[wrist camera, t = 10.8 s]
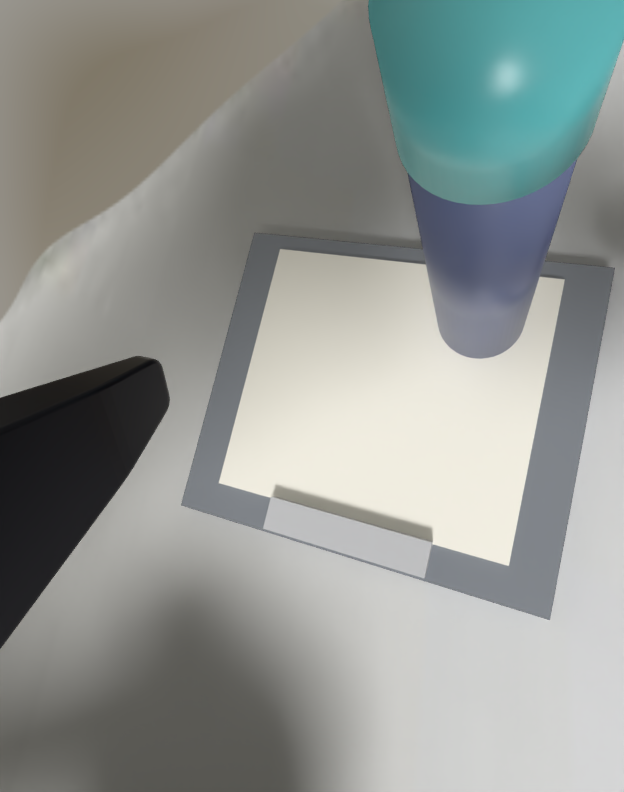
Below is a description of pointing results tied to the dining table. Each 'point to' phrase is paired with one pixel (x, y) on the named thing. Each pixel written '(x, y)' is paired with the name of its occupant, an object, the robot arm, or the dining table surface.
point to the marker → (491, 141)
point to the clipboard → (400, 419)
